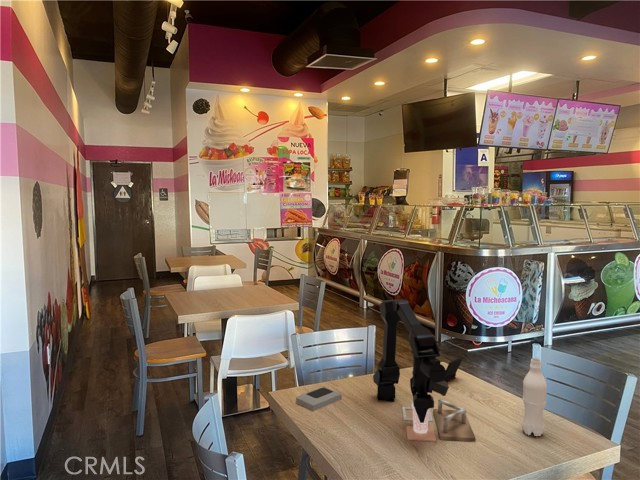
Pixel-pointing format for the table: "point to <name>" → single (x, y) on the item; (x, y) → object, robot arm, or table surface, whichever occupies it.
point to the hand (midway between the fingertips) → (420, 416)
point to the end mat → (420, 435)
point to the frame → (412, 419)
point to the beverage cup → (417, 425)
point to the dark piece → (452, 369)
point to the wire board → (453, 423)
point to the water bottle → (534, 399)
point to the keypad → (318, 398)
